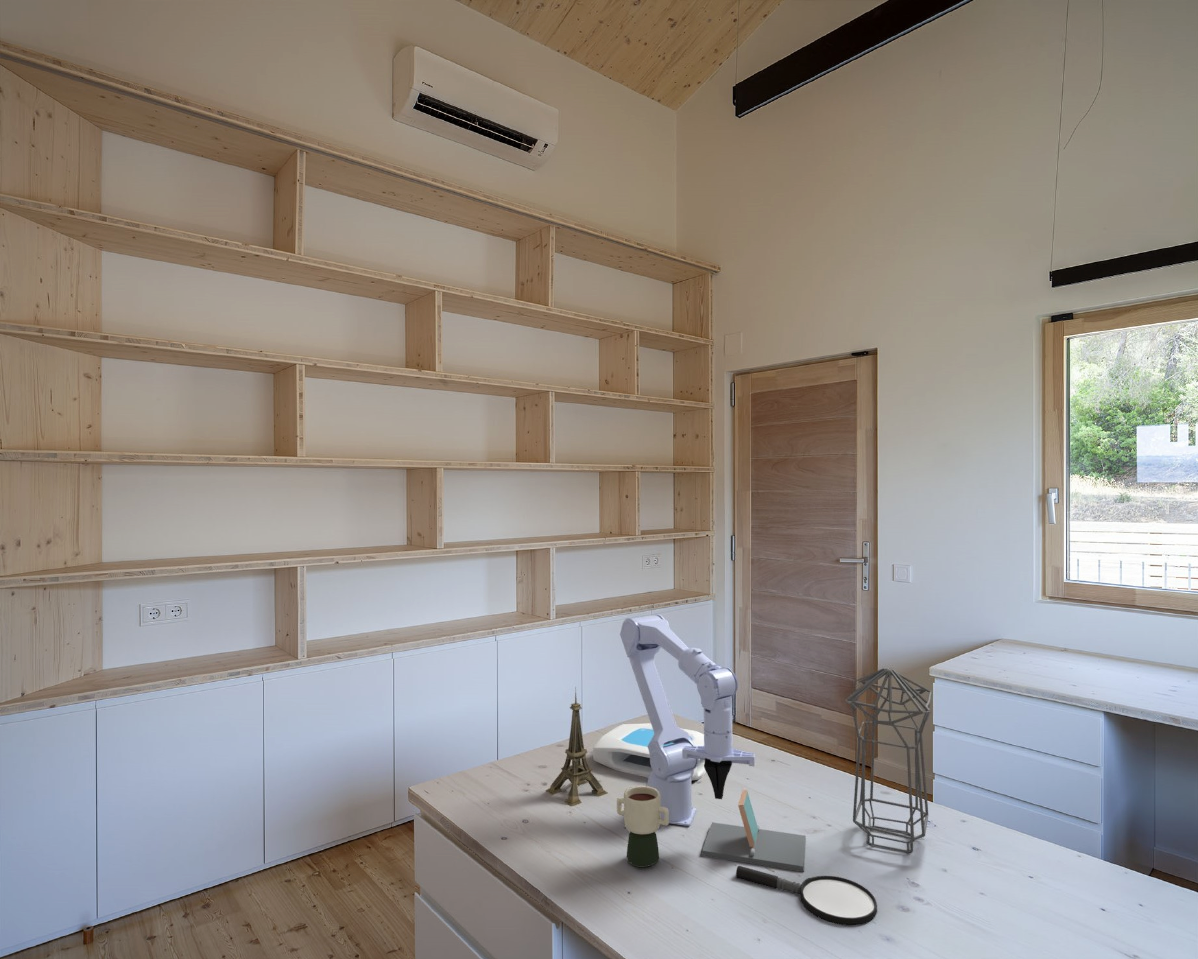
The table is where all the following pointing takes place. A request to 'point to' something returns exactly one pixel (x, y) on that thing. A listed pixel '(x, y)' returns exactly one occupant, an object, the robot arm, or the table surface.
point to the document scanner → (636, 748)
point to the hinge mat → (756, 847)
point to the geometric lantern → (854, 704)
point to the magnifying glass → (823, 896)
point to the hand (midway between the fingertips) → (719, 796)
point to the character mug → (642, 823)
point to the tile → (748, 818)
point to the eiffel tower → (576, 764)
